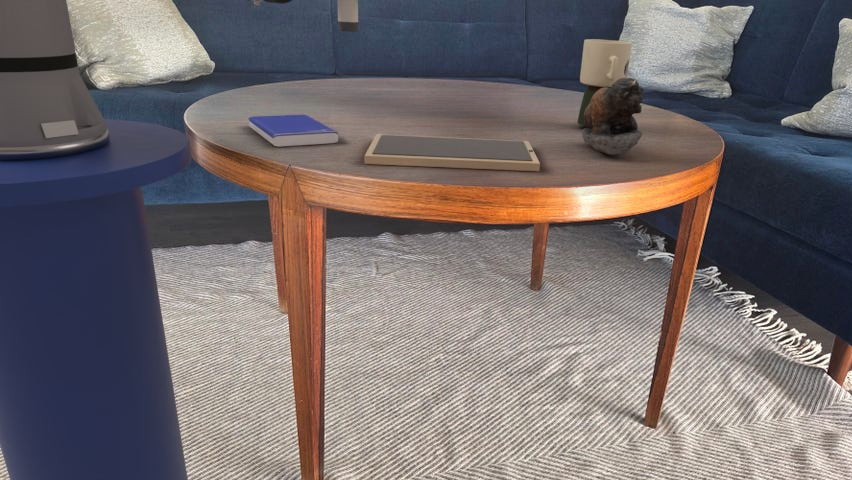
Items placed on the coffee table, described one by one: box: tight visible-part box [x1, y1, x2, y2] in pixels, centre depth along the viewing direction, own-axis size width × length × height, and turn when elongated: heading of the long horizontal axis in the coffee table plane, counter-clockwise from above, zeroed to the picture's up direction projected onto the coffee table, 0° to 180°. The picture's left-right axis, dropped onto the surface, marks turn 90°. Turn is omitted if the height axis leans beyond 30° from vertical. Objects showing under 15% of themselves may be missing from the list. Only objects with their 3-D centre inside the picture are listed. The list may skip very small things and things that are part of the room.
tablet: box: [364, 133, 541, 172], centre depth 79 cm, size 20×12×1 cm, turn 92°
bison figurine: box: [581, 77, 644, 156], centre depth 84 cm, size 12×7×10 cm, turn 7°
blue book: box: [248, 114, 339, 148], centre depth 84 cm, size 2×8×12 cm
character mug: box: [576, 38, 633, 126], centre depth 99 cm, size 11×7×13 cm, turn 5°
